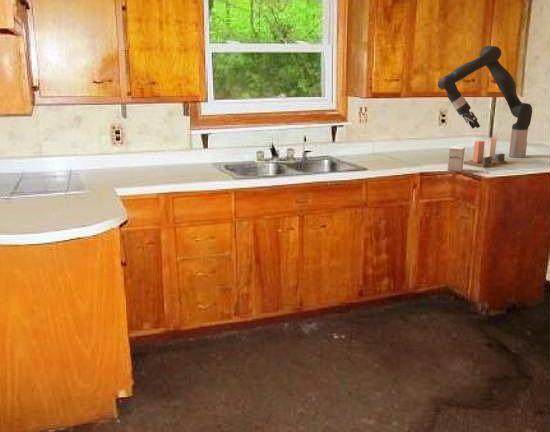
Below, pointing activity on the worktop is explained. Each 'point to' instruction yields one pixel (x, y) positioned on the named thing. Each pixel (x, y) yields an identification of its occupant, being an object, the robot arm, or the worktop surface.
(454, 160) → the supplement box
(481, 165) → the switch bench
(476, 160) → the pink tall block
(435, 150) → the worktop surface
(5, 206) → the worktop surface
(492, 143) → the key white
